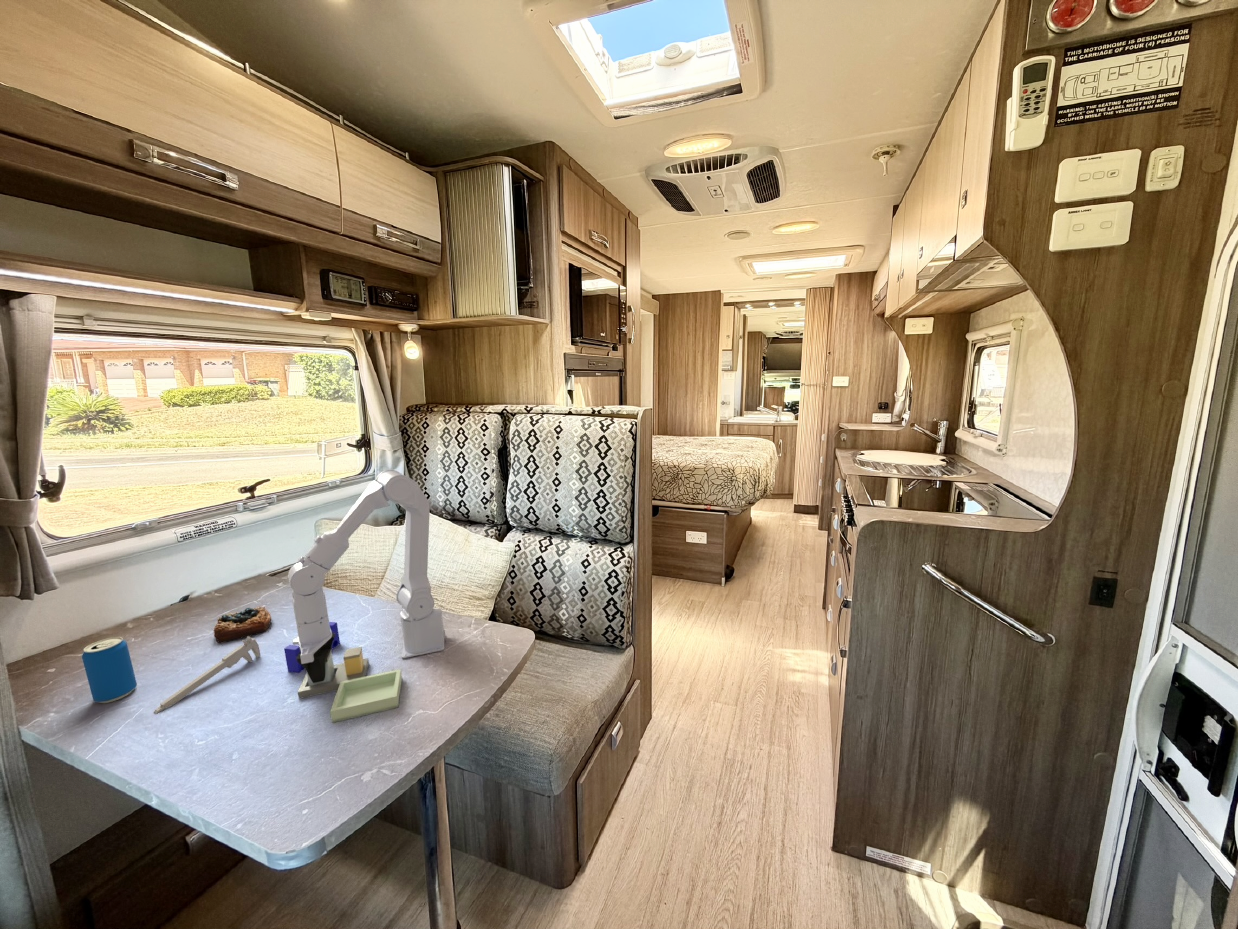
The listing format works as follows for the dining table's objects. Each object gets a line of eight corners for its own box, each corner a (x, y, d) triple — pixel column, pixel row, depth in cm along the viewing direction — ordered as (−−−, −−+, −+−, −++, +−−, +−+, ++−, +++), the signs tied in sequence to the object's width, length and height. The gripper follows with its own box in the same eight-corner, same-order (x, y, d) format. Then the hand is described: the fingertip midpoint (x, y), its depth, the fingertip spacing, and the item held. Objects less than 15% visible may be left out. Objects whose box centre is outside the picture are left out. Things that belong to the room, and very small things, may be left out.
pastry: (218, 628, 128) (214, 608, 127) (273, 615, 134) (269, 596, 133) (212, 647, 119) (208, 626, 118) (271, 632, 125) (267, 611, 124)
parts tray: (402, 679, 103) (400, 669, 103) (397, 707, 94) (396, 696, 94) (342, 692, 100) (340, 681, 99) (332, 723, 91) (330, 711, 90)
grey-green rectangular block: (335, 675, 105) (331, 648, 104) (331, 686, 102) (327, 658, 100) (314, 679, 104) (309, 652, 103) (309, 691, 100) (304, 663, 99)
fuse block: (368, 664, 109) (365, 640, 108) (363, 684, 102) (359, 660, 101) (309, 676, 105) (305, 652, 104) (298, 698, 98) (294, 673, 97)
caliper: (257, 656, 114) (253, 633, 113) (261, 657, 114) (256, 633, 113) (153, 714, 95) (147, 686, 94) (157, 715, 95) (150, 687, 94)
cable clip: (325, 642, 119) (321, 620, 118) (340, 644, 118) (336, 622, 117) (282, 671, 108) (278, 647, 107) (299, 673, 107) (295, 649, 106)
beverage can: (105, 690, 102) (92, 640, 100) (143, 682, 105) (132, 633, 103) (86, 709, 97) (72, 656, 94) (128, 700, 99) (115, 648, 97)
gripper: (300, 605, 105) (309, 660, 108) (278, 638, 92) (289, 700, 94) (335, 599, 108) (344, 653, 110) (320, 631, 94) (329, 691, 97)
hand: (321, 674), depth 102 cm, fingers closed on grey-green rectangular block, 4 cm apart
